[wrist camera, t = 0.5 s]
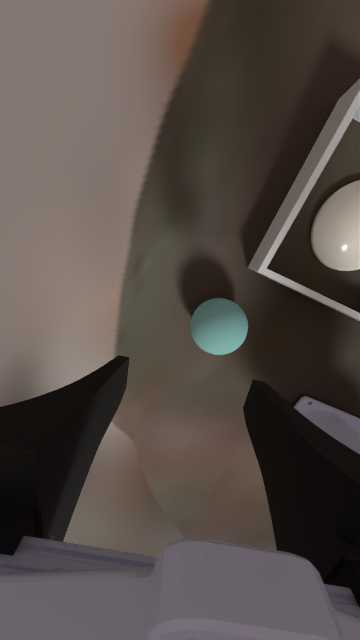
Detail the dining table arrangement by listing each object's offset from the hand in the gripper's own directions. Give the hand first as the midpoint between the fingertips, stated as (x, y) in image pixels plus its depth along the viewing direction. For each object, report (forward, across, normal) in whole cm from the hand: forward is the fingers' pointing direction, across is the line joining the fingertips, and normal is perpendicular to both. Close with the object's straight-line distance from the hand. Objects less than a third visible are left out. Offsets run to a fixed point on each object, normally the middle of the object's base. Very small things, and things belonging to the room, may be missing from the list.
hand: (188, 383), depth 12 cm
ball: (+10, -2, -1) cm, 10 cm away
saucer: (+10, -12, -11) cm, 19 cm away
